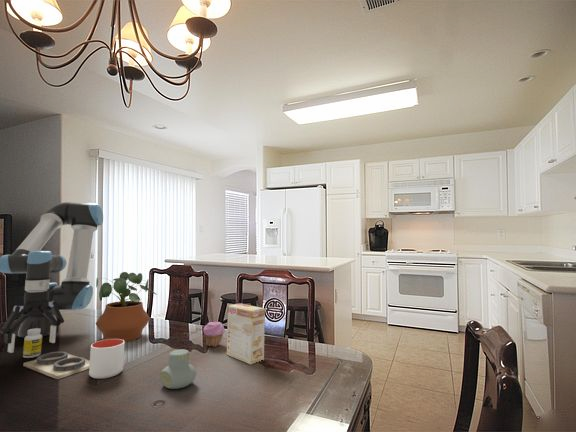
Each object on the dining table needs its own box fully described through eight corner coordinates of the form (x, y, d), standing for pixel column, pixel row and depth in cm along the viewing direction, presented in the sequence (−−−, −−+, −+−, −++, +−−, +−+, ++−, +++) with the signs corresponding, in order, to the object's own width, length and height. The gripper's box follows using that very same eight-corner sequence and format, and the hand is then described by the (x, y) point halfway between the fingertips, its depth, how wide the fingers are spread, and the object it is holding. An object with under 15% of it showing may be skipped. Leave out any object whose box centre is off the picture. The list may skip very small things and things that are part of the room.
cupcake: (198, 346, 136) (199, 322, 137) (211, 341, 144) (211, 318, 145) (216, 349, 133) (217, 325, 133) (228, 343, 141) (228, 320, 142)
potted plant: (81, 341, 140) (85, 272, 143) (130, 325, 167) (133, 268, 169) (122, 347, 133) (126, 275, 136) (167, 330, 160) (169, 269, 163)
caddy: (63, 354, 124) (63, 348, 124) (97, 365, 114) (97, 358, 114) (23, 365, 113) (23, 358, 113) (57, 379, 102) (57, 371, 103)
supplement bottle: (30, 358, 120) (32, 332, 120) (19, 357, 121) (21, 330, 121) (44, 353, 125) (46, 328, 126) (33, 352, 126) (35, 327, 127)
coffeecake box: (264, 360, 122) (265, 308, 124) (250, 365, 117) (251, 310, 118) (240, 350, 132) (241, 302, 134) (225, 354, 127) (227, 304, 129)
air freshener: (156, 384, 100) (158, 351, 101) (180, 376, 107) (181, 345, 108) (175, 395, 93) (176, 360, 94) (199, 385, 100) (200, 352, 101)
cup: (129, 370, 111) (131, 340, 111) (104, 382, 101) (106, 349, 102) (107, 366, 114) (109, 337, 115) (81, 377, 104) (83, 345, 105)
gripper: (1, 295, 112) (-5, 358, 110) (76, 287, 134) (72, 340, 132) (-9, 294, 116) (-15, 354, 114) (66, 286, 137) (62, 337, 136)
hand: (32, 347), depth 123 cm, fingers open, 13 cm apart
